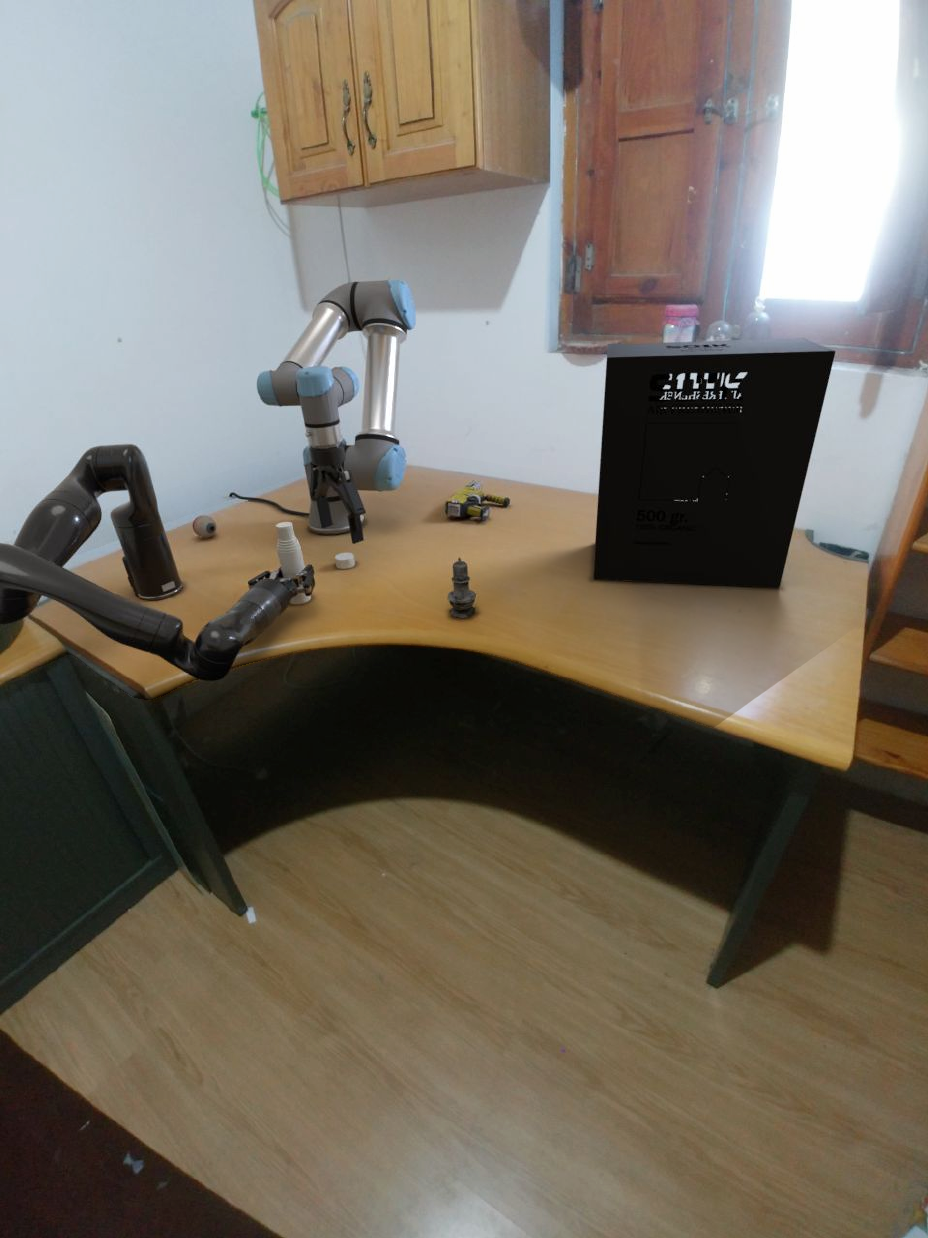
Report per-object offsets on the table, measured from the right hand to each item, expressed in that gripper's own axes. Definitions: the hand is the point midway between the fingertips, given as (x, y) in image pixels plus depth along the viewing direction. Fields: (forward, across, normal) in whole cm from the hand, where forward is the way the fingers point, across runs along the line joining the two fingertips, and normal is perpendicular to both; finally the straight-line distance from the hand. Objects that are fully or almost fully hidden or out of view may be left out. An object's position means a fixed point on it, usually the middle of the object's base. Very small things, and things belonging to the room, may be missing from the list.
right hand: (342, 533), depth 142 cm
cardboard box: (+8, +58, +51) cm, 78 cm away
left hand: (+1, +6, -15) cm, 16 cm away
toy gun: (+9, -3, +48) cm, 49 cm away
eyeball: (+8, -45, -17) cm, 48 cm away
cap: (+6, 0, -1) cm, 6 cm away
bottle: (+7, +8, -17) cm, 21 cm away
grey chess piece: (+7, +39, +3) cm, 39 cm away
